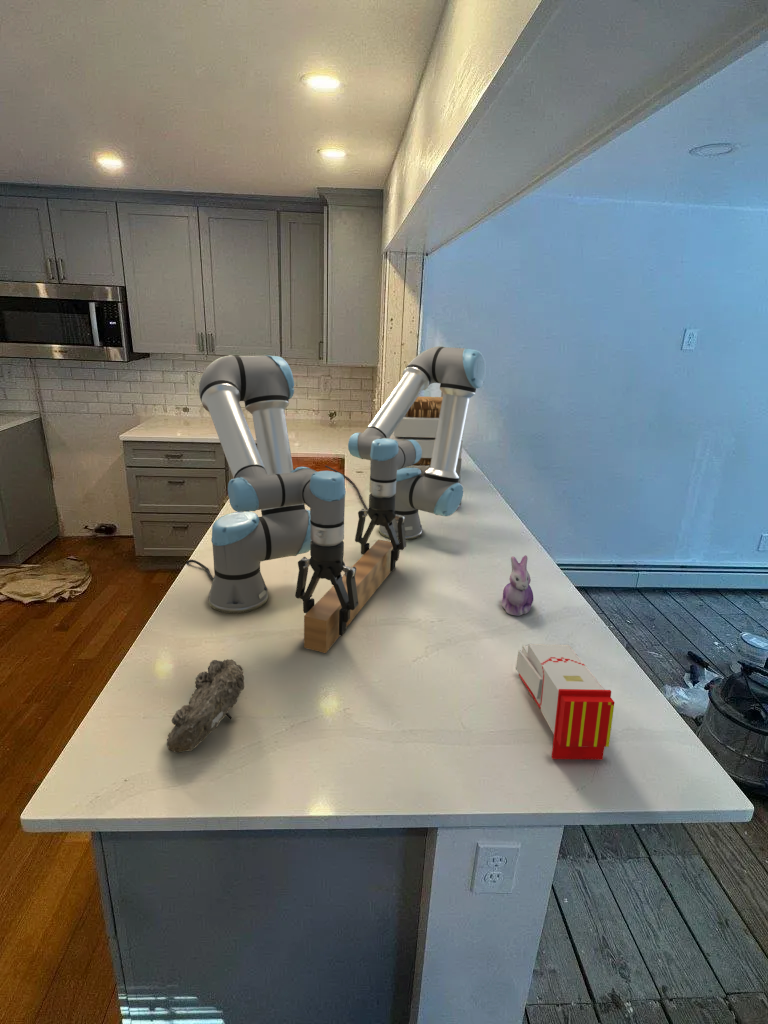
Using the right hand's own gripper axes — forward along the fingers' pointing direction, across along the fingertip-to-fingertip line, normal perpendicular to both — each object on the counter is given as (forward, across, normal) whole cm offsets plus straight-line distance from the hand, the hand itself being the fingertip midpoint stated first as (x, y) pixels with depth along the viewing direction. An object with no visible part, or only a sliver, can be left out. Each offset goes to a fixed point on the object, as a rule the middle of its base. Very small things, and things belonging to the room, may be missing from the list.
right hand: (379, 566), depth 168 cm
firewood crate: (+2, -20, +112) cm, 114 cm away
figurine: (+2, +41, -4) cm, 41 cm away
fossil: (+2, -8, -71) cm, 72 cm away
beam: (+2, 0, -19) cm, 19 cm away
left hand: (0, 0, -37) cm, 37 cm away
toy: (+2, +53, -44) cm, 69 cm away
